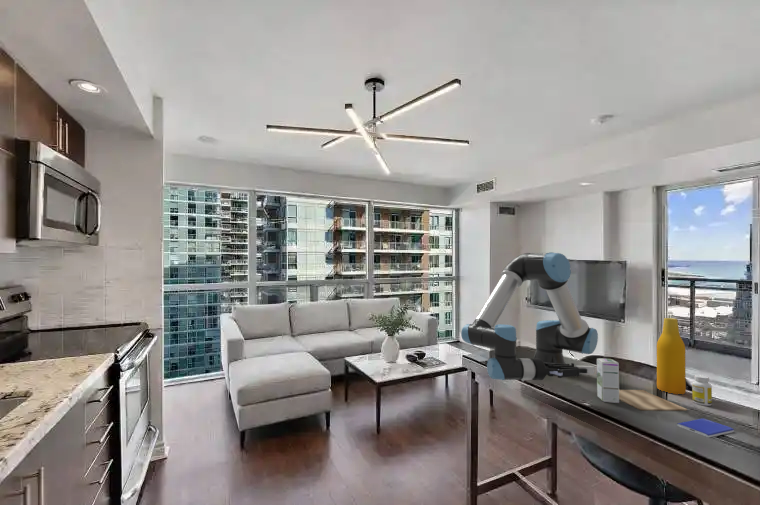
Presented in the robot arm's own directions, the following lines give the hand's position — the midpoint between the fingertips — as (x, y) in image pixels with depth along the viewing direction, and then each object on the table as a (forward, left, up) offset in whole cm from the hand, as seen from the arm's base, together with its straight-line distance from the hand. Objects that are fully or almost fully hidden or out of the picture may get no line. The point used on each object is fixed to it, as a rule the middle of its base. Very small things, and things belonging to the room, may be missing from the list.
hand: (593, 369), depth 136 cm
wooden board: (-16, +11, -11) cm, 22 cm away
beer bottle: (-39, +14, -11) cm, 43 cm away
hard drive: (-2, +31, -12) cm, 33 cm away
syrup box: (-5, +3, -11) cm, 13 cm away
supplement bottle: (-31, +25, -11) cm, 41 cm away
